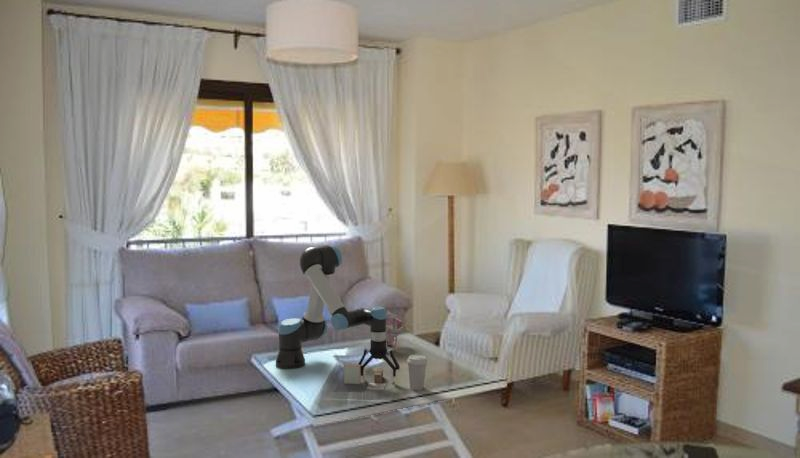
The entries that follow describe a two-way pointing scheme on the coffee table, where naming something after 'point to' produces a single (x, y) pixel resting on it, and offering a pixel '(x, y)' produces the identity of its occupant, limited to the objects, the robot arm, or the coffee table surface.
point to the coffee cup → (417, 371)
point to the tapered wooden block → (377, 381)
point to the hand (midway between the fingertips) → (378, 382)
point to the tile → (352, 374)
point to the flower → (392, 329)
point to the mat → (350, 387)
